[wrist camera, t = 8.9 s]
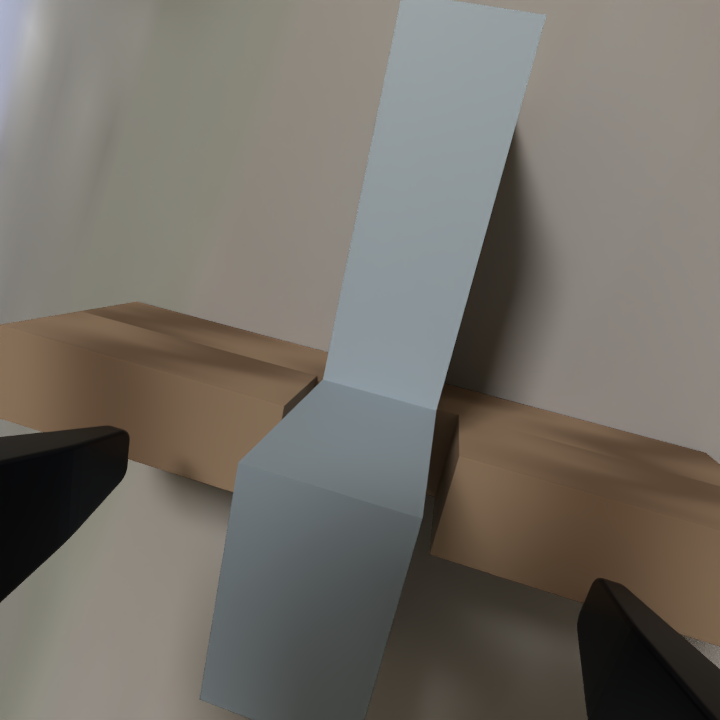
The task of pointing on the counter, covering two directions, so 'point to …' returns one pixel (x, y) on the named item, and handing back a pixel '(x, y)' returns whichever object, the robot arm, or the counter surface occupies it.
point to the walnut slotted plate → (447, 461)
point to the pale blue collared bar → (371, 383)
